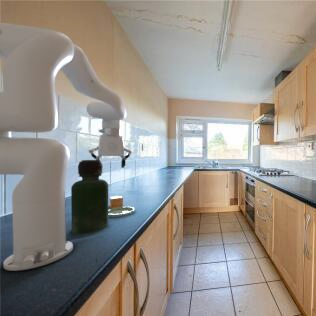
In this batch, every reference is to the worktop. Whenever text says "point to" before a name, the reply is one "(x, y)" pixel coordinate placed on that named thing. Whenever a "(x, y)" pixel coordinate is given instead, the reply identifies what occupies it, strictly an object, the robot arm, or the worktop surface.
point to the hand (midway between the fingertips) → (111, 167)
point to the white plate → (120, 211)
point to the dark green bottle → (89, 199)
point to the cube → (116, 201)
